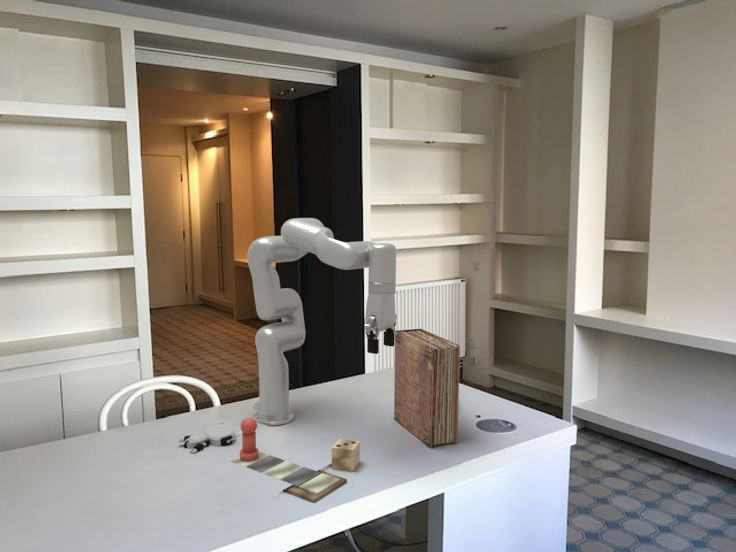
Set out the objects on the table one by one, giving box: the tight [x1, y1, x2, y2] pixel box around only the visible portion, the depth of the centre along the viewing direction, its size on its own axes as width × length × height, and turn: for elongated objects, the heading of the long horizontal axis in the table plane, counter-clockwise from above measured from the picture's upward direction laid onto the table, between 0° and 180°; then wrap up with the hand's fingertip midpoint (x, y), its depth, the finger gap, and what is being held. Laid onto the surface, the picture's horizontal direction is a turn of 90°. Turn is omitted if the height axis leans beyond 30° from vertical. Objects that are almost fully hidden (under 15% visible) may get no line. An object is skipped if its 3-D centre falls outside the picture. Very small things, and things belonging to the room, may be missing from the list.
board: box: [229, 451, 348, 504], centre depth 154 cm, size 32×13×1 cm, turn 55°
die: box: [331, 438, 361, 473], centre depth 160 cm, size 6×6×6 cm
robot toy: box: [178, 421, 241, 454], centre depth 172 cm, size 12×4×15 cm
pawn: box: [239, 417, 260, 462], centre depth 161 cm, size 5×5×11 cm
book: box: [393, 328, 461, 449], centre depth 183 cm, size 25×9×30 cm, turn 22°
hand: (381, 349), depth 165 cm, fingers open, 9 cm apart
